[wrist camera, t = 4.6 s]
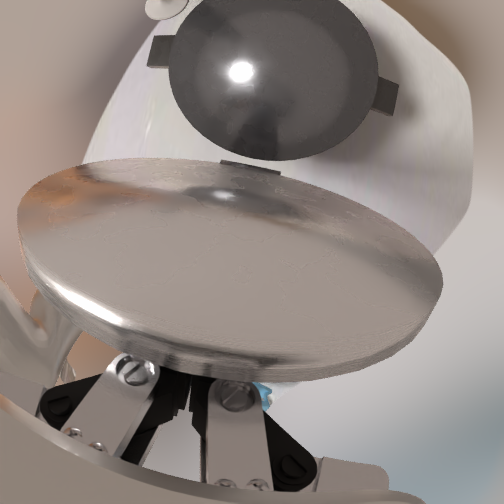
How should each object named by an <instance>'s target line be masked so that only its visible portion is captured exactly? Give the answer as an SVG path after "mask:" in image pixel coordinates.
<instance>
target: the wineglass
mask: <svg viewBox="0 0 504 504" xmlns="http://www.w3.org/2000/svg"><path fill="white" fill-rule="evenodd" d="M187 2H188V0H147V2H146V5H145V11H146V14H147V15H148V16H149V17H150V18H152V19H155V20H165V19H169V18H171V17H174V16H175V15H177V14H178V13H180V12H181V11H182V10H183V9H184V7H185V6H186V4H187Z"/></svg>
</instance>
